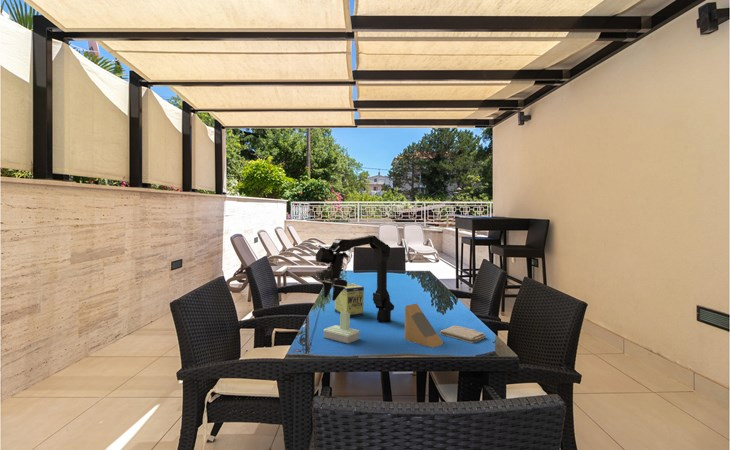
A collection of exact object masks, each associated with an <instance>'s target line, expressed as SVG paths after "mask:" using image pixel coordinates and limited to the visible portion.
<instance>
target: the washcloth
mask: <svg viewBox="0 0 730 450" xmlns="http://www.w3.org/2000/svg"><path fill="white" fill-rule="evenodd" d="M441 334H442V336H445V335H446V336H445V337H448V336H449V338H451V337H453V339H455V338H456V340H459V339H460V341H463V342H466V341H467V343H470V344H474V343H478V342H480V341H483V340H484V338H485V339H486V338H487V337H486V336H487V335H486V334H485V333H484V332H481V331H478V330H476V329H474V328H468V327H465V326H459V325H452V326H449V327H448V328H444V329H442V330H440V331H439V335H441ZM482 339H483V340H482ZM479 340H480V341H479ZM477 341H478V342H477Z"/></svg>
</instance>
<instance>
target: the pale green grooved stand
mask: <svg viewBox="0 0 730 450" xmlns="http://www.w3.org/2000/svg"><path fill="white" fill-rule="evenodd" d="M350 320H351V317H350V313H348V312H341V313H340V314H339V325H337V324H335V325H331V326H328V327H325V328H324V329H322V330H323V332H324V331H325V332H329V333H333V334H338V335H342V336H346V337H349V336H351V335H354V334H356V333H359V334H360V332H361V331H360V330H359V329H356V328H351V327H350V325H351V321H350Z"/></svg>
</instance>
